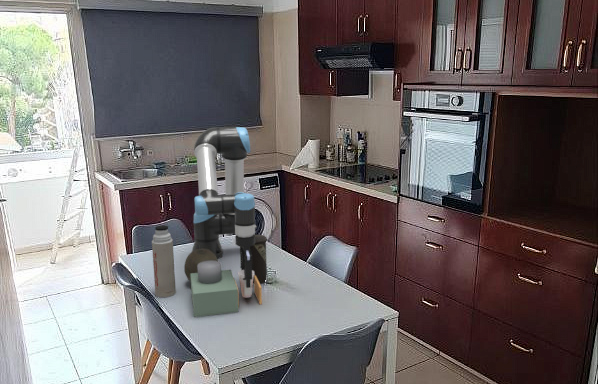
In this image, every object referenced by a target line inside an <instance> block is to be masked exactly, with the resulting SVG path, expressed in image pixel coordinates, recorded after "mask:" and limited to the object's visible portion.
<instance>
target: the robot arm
mask: <svg viewBox="0 0 598 384" xmlns="http://www.w3.org/2000/svg"><path fill="white" fill-rule="evenodd" d="M250 153H251V142H250V135H249V131H248V129H247V128H246V127H244V126H243V127H240V126H239V127H238V126H234V127H233V126H231V127H229V126H227V127H211V128H210V127H209V128H208V129H206V130H204V131H203V132H201V134H199V136H198V137H197V138H196V141H195V144H194V146H193V154H194V156H195V158H196V163H197V164H196V165H197V167H196V168H197V179H198V180H197V182H198V184H197V185H198V195H196V196H195V197H194V214H193V226H194V227H193V231H194V232H193V234H194V242H193V245H192V250H191V252H192V251H194V250H197V249H208V250H210V251H211V252H212V253H213V254H214V255H215V256H216V257H217V260H218V259H220V258H222V257H223V256H224V250H223V246H222V244H221V242H220V235H234V234H235V245H236V246H237V247H239V253H240V254H239V255H240V266H239V267H240V271H241V270H244V275H245V278H243V280H244V295H251V296H252V294H253V286H251V279H252V255H251V254H252V251H251V250H250V246H253V245H254V244H255V235H256V228H257V225H256V221H255V220H256V219H255V218H256V217H255V216H256V215H255V214H256V212H255V207H256V202H255V196H254V194H251V193H245V192H244V188H245V187H244V186H245V183H244V182H245V181H244V177H245V171H244V170H245V168H244V167H245V166H244V164H245V163H244V161H245V160H246V159H247V158H248V154H250ZM217 154H218V155H221V158H222V159H223V160H224V173H225V174H224V176H225V177H224V180H225V182H224V183H225V185H224V186H225V188H224V189H225V190H224V191H225V194H220V195H219V191H218V190H219V189H218V187H219V186H218V179H217V178H218V177H217V169H216V168H217V167H216V166H217V165H216V156H217Z"/></svg>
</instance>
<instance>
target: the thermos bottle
mask: <svg viewBox="0 0 598 384" xmlns="http://www.w3.org/2000/svg"><path fill="white" fill-rule="evenodd" d="M154 229H155V231H154V232H155V233H154V234H153V235H152V236H153V237H152V240H151V248H152V249H151V250H152V262H153V278H154V279H153V281H154V291H155V292H154V294H155V296H156V297H159V298H168V297H172V296H174V295H176V293H177V288H176V274H175V273H176V272H175V256H174V239H173V238H172V236H171V233H170V232H169V226H168V225H166V224H165V225H157V226H155V228H154Z"/></svg>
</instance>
